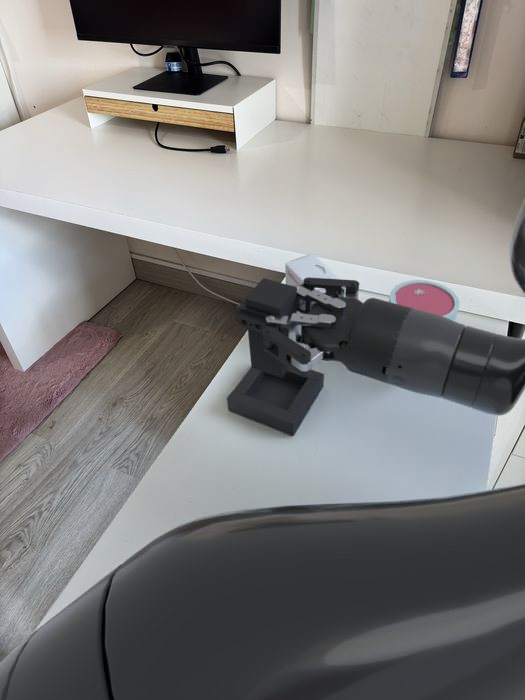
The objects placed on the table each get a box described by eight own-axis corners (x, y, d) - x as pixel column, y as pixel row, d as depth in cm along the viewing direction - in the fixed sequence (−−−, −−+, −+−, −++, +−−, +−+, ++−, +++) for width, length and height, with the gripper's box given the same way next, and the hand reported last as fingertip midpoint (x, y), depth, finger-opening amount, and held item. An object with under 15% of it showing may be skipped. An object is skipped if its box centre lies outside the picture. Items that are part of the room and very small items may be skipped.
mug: (387, 327, 80) (395, 275, 74) (447, 339, 78) (462, 286, 71) (369, 387, 71) (377, 334, 64) (437, 403, 69) (453, 349, 62)
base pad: (293, 436, 66) (293, 424, 64) (228, 410, 69) (226, 398, 67) (323, 386, 72) (324, 373, 70) (262, 365, 75) (261, 352, 74)
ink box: (284, 322, 83) (283, 260, 75) (310, 312, 84) (312, 251, 76) (312, 353, 77) (313, 290, 69) (339, 342, 78) (344, 279, 70)
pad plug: (281, 378, 57) (279, 308, 50) (251, 367, 58) (244, 298, 51) (297, 356, 59) (297, 286, 52) (267, 346, 61) (263, 277, 54)
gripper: (432, 275, 50) (277, 238, 56) (384, 367, 41) (207, 310, 47) (419, 332, 55) (279, 293, 61) (375, 425, 46) (216, 367, 52)
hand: (249, 301), depth 54 cm, fingers closed on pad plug, 4 cm apart
